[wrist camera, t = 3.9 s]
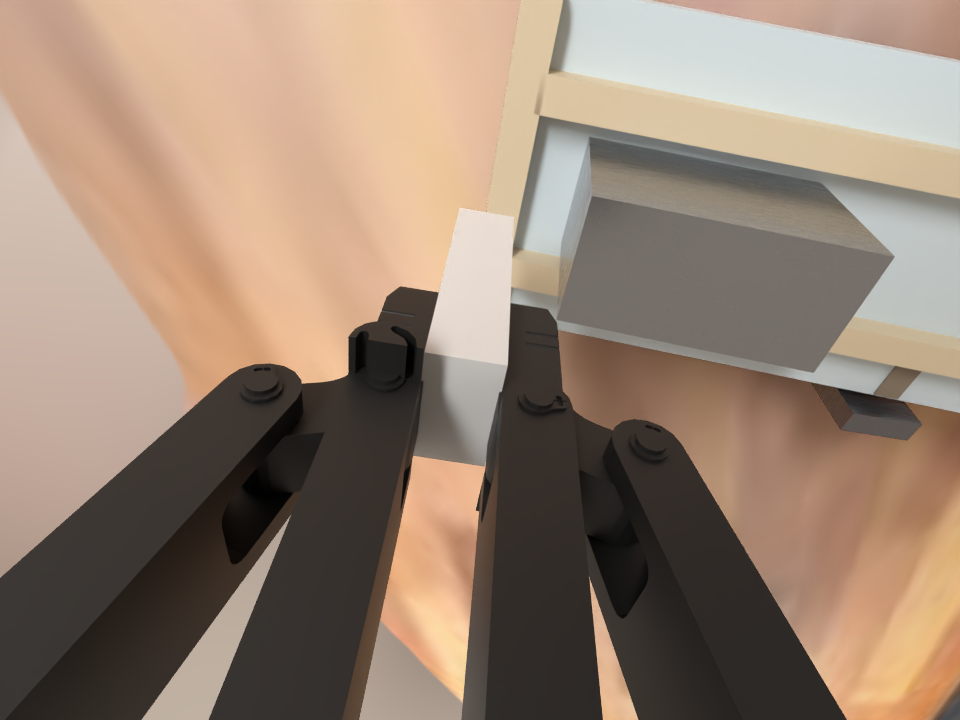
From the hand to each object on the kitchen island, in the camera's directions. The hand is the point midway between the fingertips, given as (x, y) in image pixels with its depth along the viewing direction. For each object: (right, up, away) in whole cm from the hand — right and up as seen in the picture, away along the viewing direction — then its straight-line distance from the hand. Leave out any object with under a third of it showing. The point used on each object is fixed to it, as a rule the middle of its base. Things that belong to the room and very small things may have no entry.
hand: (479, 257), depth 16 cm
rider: (+7, +2, +4) cm, 9 cm away
